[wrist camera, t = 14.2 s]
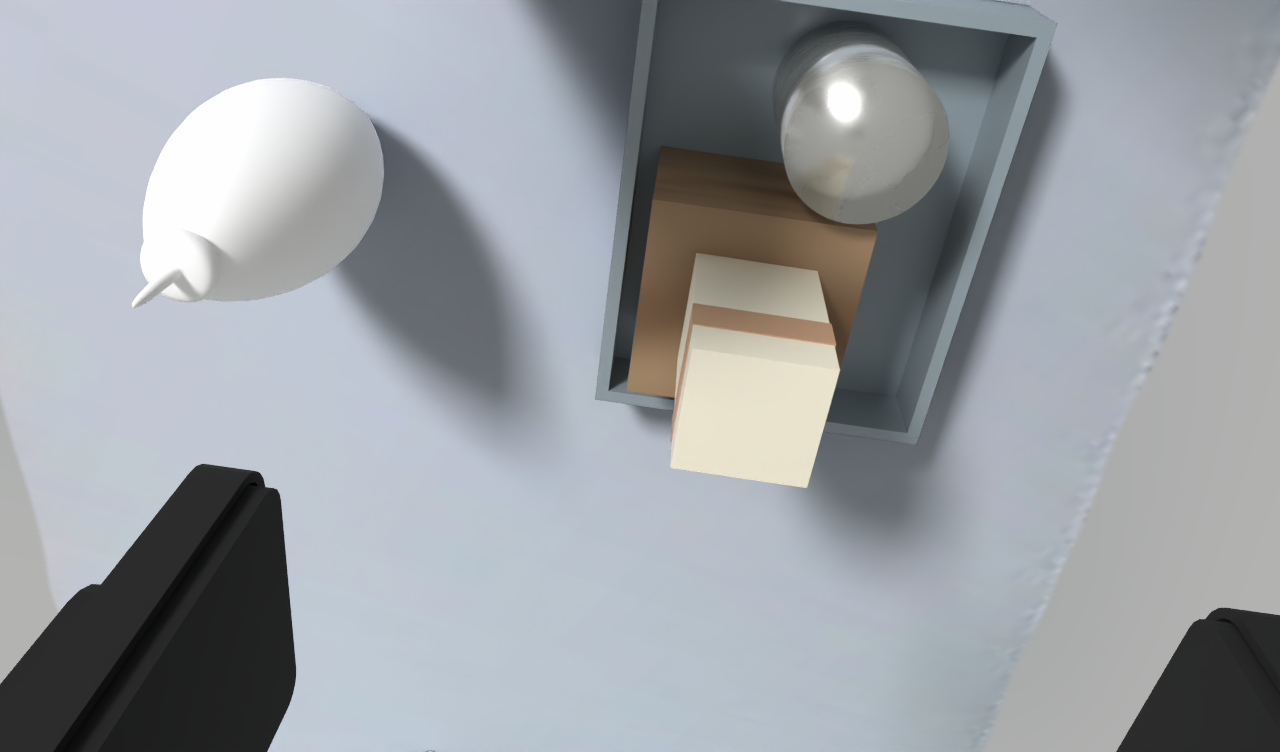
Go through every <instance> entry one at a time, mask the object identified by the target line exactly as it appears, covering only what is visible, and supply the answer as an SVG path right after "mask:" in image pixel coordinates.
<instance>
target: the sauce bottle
mask: <svg viewBox="0 0 1280 752" xmlns="http://www.w3.org/2000/svg"><path fill="white" fill-rule="evenodd" d="M383 181H384V163H383V154H382V149H381V145H380V140H379V138H378V135H377V133H376V131H375V128H374V126H373V124H372V123H371V121H370V119H369V118H368V116H367V115H366V113H365V112H364V111H363V110H362V109H361V108H360V107H359V106H358V105H357V104H356V103H355V102H353V101H352V100H350V99H349V98H348V97H346V96H345V95H343V94H342V93H340V92H338V91H335V90H333V89H331V88H329V87H327V86H324V85H321V84H317V83H314V82H310V81H306V80H299V79H290V78H273V79H260V80H255V81H251V82H248V83H244V84H241V85H237V86H234V87H231V88H229V89H227V90H225V91H223V92H221V93H220V94H218V95H216V96H215V97H213V98H211V99H210V100H208V101H206V102H205V103H203V104H202V105H200V106H199V107H198V108H196V109H195V110H194V111H193V112H192V113H191V114H190V115H189V116H188V117H187V118H186V119H185V120H184V122H183V123H182V124H181V125H180V126H179V127H178V128H177V130H176V131H175V132H174V133H173V134H172V136H171V137H170V138H169V140H168V141H167V143H166V145H165V146H164V148H163V150H162V152H161V154H160V156H159V158H158V161H157V163H156V165H155V167H154V170H153V172H152V174H151V177H150V180H149V184H148V188H147V193H146V198H145V203H144V208H143V237H144V244H143V246H142V249H141V254H140V262H141V267H142V271H143V273H144V276H145V278H146V279H147V281H148V283H149V284H148V285H147V286H146V287H145V288H144V289H143V290H142V291H141V292H140V293H139V294H138V295H137V297H136V298H135V300H134V301H133V303H132V307H139V306H141V305H143V304H145V303H146V302H148V301H150V300H151V299H153V298H154V297H155V296H157V295H158V294H159V293H160V294H162V295H164V296H166V297H168V298H170V299H173V300H177V301H182V302H196V301H200V300H203V299H207V300H216V301H249V300H257V299H262V298H267V297H271V296H275V295H279V294H283V293H286V292H290V291H292V290H295V289H297V288H300V287H302V286H304V285H306V284H308V283H310V282H312V281H314V280H316V279H318V278H320V277H322V276H323V275H325V274H326V273H328V272H330V271H331V270H332V269H333V268H335V267H336V266H337V265H338V264H339V263H340V262H341V261H342V260H344V259H345V258H346V257H347V256H348V255H349V254H350V253H351V252H352V251H353V250H354V249H355V248H356V247H357V245H358V244H359V243H360V241H361V240H362V238H363V237H364V235H365V233H366V232H367V230H368V229H369V227H370V225H371V223H372V222H373V220H374V217H375V215H376V212H377V209H378V206H379V203H380V200H381V196H382V188H383Z"/></svg>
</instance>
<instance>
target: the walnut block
mask: <svg viewBox="0 0 1280 752" xmlns="http://www.w3.org/2000/svg"><path fill="white" fill-rule="evenodd" d="M877 233H878V230H877V228H876V225H875V223H870V224H846V223H841V222H837V221H834V220H831V219H828V218H826V217H824V216H822V215H820V214H818V213H816V212H815V211H813V210H812V209H811V208H809V207H808V206H807V205H806V204H805V203H804V202H803V201H802V200H801V199H800V198H799V196H798V195H797V194H796V192H795V191H794V189H793V187H792V186H791V183H790V181H789V179H788V176H787V173H786V169H785V165H784V163H778V162H771V161H764V160H757V159H750V158H743V157H736V156H729V155H722V154H715V153H708V152H701V151H694V150H687V149H680V148H673V147H666V146H661V151H660V157H659V163H658V169H657V176H656V182H655V188H654V195H653V201H652V208H651V216H650V223H649V230H648V237H647V245H646V252H645V259H644V266H643V274H642V281H641V288H640V296H639V303H638V310H637V317H636V325H635V332H634V339H633V346H632V354H631V361H630V368H629V375H628V383H627V390H626V391H631V392H638V393H645V394H652V395H660V396H667V397H674V398H675V389H676V375H677V360H678V353H679V348H680V342H681V336H682V331H683V325H684V319H685V314H686V308H687V302H688V297H689V291H690V285H691V280H692V274H693V268H694V263H695V257H696V253H701V254H707V255H714V256H721V257H727V258H734V259H741V260H747V261H754V262H761V263H767V264H774V265H781V266H787V267H794V268H801V269H807V270H814V271H818V274H819V279H820V283H821V288H822V292H823V297H824V301H825V305H826V310H827V314H828V319H829V323H831V324H832V328H833V333H834V337H835V341H836V348H835V350H836V355H837V359H838V364H839V368H840V369H841V366H842V362H843V358H844V355H845V351H846V347H847V343H848V340H849V336H850V332H851V329H852V325H853V321H854V318H855V314H856V310H857V307H858V303H859V299H860V296H861V292H862V288H863V285H864V281H865V277H866V273H867V270H868V266H869V262H870V259H871V255H872V251H873V248H874V244H875V240H876V237H877ZM839 373H840V372H839ZM838 377H839V376H838ZM837 380H838V379H837ZM836 384H837V383H836ZM835 388H836V386H835ZM834 391H835V390H834ZM833 395H834V394H833ZM832 399H833V397H832ZM831 402H832V401H831ZM830 406H831V404H830ZM829 410H830V408H829ZM828 413H829V411H828ZM827 417H828V415H827ZM826 419H827V418H826Z"/></svg>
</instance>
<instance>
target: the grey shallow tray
mask: <svg viewBox="0 0 1280 752" xmlns="http://www.w3.org/2000/svg"><path fill="white" fill-rule="evenodd" d="M838 21H857V22H862V23H866V24H869V25H872V26H874V27H876V28H878V29H880V30H882V31H883V32H885V33H886V34H887V35H889V36H890V37H891V38H892V39H893V40H894V41H895V42H896V43H897V45H898V46H899V47H900V48H901V50H902V51H903V52H904V53H905V55H906V56H907V57H908V59H909V60H910V61H911V62H912V64H913V65H914V66H915V67H916V69H917V70H918V71H919V73H920V74H921V75H922V76H923V78H924V79H925V80H926V81H927V83H928V84H929V85H930V86H931V88H932V89H933V90H934V92H935V93H936V94H937V96H938V97H939V99H940V101H941V103H942V105H943V106H944V109H945V112H946V115H947V118H948V123H949V133H950V141H949V150H948V154H947V159H946V161H945V164H944V167H943V169H942V171H941V173H940V175H939V177H938V179H937V181H936V182H935V183H934V185H933V186H932V188H931V189H930V190H929V191H928V192H927V194H926V195H925V196H924V197H923V198H922V199H921V200H920V201H918V202H917V203H916V204H915V205H913V206H912V207H911V208H909V209H908V210H906V211H904V212H903V213H901V214H899V215H897V216H895V217H892V218H890V219H887V220H884V221H880V222H876V223H875V225H876V228H877V230H878V233H877V237H876V240H875V244H874V248H873V251H872V255H871V259H870V262H869V266H868V270H867V273H866V277H865V281H864V285H863V288H862V292H861V296H860V299H859V303H858V307H857V310H856V314H855V318H854V321H853V325H852V329H851V332H850V336H849V340H848V343H847V347H846V351H845V355H844V358H843V362H842V366H841V369H840V373H839V377H838V380H837V384H836V388H835V391H834V395H833V399H832V402H831V406H830V410H829V413H828V417H827V419H826V422H825V426H824V429H823V432H828V433H835V434H842V435H849V436H856V437H864V438H871V439H878V440H885V441H892V442H899V443H906V444H913V445H916V444H917V441H918V438H919V435H920V432H921V429H922V426H923V423H924V420H925V417H926V414H927V411H928V408H929V405H930V402H931V399H932V396H933V393H934V390H935V387H936V384H937V381H938V378H939V376H940V373H941V370H942V367H943V364H944V361H945V358H946V355H947V352H948V349H949V346H950V343H951V340H952V337H953V334H954V331H955V328H956V325H957V322H958V319H959V316H960V313H961V310H962V307H963V304H964V301H965V298H966V295H967V292H968V289H969V286H970V283H971V280H972V277H973V274H974V271H975V268H976V265H977V262H978V259H979V256H980V253H981V250H982V247H983V244H984V241H985V238H986V235H987V232H988V229H989V226H990V224H991V221H992V218H993V215H994V212H995V209H996V206H997V203H998V200H999V197H1000V194H1001V191H1002V188H1003V185H1004V182H1005V179H1006V176H1007V173H1008V170H1009V167H1010V164H1011V161H1012V158H1013V155H1014V152H1015V149H1016V146H1017V143H1018V140H1019V137H1020V134H1021V131H1022V128H1023V125H1024V122H1025V119H1026V116H1027V113H1028V110H1029V107H1030V104H1031V101H1032V98H1033V95H1034V92H1035V89H1036V86H1037V83H1038V80H1039V77H1040V74H1041V72H1042V69H1043V66H1044V63H1045V60H1046V57H1047V54H1048V51H1049V48H1050V45H1051V42H1052V39H1053V36H1054V33H1055V30H1056V27H1057V23H1056V22H1054V21H1053V20H1051V19H1049V18H1048V17H1046V16H1044V15H1043V14H1041V13H1040V12H1038V11H1036V10H1035V9H1033V8H1032V7H1030V6H1028V5H1022V4H1015V3H1008V2H1001V1H994V0H642V6H641V14H640V23H639V31H638V40H637V48H636V57H635V65H634V73H633V82H632V90H631V99H630V107H629V116H628V124H627V133H626V141H625V150H624V158H623V167H622V175H621V184H620V192H619V200H618V209H617V217H616V226H615V234H614V243H613V251H612V260H611V268H610V277H609V285H608V294H607V302H606V311H605V319H604V327H603V336H602V344H601V353H600V361H599V370H598V378H597V387H596V395H595V400H602V401H609V402H616V403H623V404H630V405H637V406H644V407H651V408H658V409H666V410H673V411H674V404H675V398H674V397H667V396H660V395H652V394H645V393H638V392H631V391H626V390H627V383H628V375H629V368H630V361H631V354H632V346H633V339H634V332H635V325H636V317H637V310H638V303H639V296H640V288H641V281H642V274H643V266H644V259H645V252H646V245H647V237H648V230H649V223H650V216H651V208H652V201H653V195H654V188H655V182H656V176H657V169H658V163H659V157H660V151H661V146H666V147H673V148H680V149H687V150H694V151H701V152H708V153H715V154H722V155H729V156H736V157H743V158H750V159H757V160H764V161H771V162H778V163H784V160H783V155H782V150H781V145H780V140H779V135H778V130H777V125H776V120H775V115H774V110H773V103H772V89H773V82H774V78H775V74H776V72H777V69H778V67H779V65H780V63H781V61H782V59H783V57H784V56H785V54H786V53H787V52H788V50H789V49H790V48H791V47H792V46H793V45H794V44H795V42H797V41H798V40H799V39H800V38H801V37H802V36H804V35H805V34H807V33H808V32H810V31H811V30H814V29H816V28H818V27H820V26H823V25H825V24H828V23H833V22H838Z"/></svg>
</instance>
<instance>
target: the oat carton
mask: <svg viewBox="0 0 1280 752" xmlns="http://www.w3.org/2000/svg"><path fill="white" fill-rule="evenodd" d="M835 348H836V341H835V337H834V333H833V328H832V324H831V323H829V319H828V314H827V310H826V305H825V301H824V297H823V292H822V288H821V283H820V279H819V274H818V271H814V270H807V269H801V268H794V267H787V266H781V265H774V264H767V263H761V262H754V261H747V260H741V259H734V258H727V257H721V256H714V255H707V254H701V253H696V257H695V263H694V268H693V274H692V280H691V285H690V291H689V297H688V302H687V308H686V314H685V319H684V325H683V331H682V336H681V342H680V348H679V353H678V360H677V375H676V389H675V404H674V411H673V417H672V428H671V442H672V449H671V463H670V468H675V469H682V470H688V471H695V472H702V473H709V474H716V475H722V476H729V477H736V478H743V479H749V480H756V481H763V482H770V483H776V484H783V485H790V486H797V487H804V488H807V486H808V482H809V479H810V475H811V472H812V468H813V465H814V461H815V458H816V454H817V450H818V447H819V443H820V440H821V436H822V433H823V429H824V426H825V422H826V418H827V415H828V411H829V408H830V404H831V401H832V397H833V394H834V390H835V386H836V383H837V379H838V376H839V372H840V368H839V364H838V359H837V355H836V350H835Z"/></svg>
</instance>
